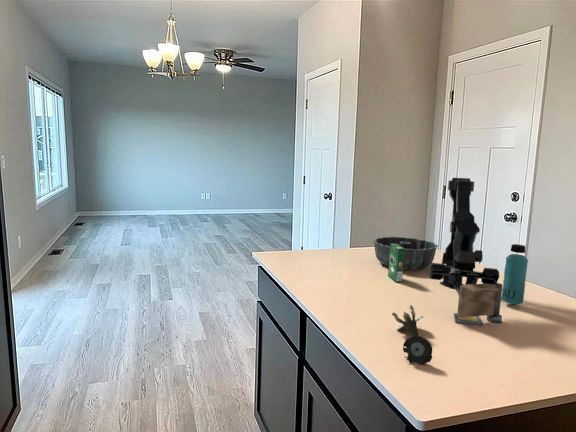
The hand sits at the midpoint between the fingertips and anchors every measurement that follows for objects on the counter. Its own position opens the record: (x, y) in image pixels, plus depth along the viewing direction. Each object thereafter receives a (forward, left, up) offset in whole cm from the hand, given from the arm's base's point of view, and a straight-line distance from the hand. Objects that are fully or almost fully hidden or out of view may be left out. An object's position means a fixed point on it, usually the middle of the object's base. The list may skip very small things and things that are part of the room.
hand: (463, 300), depth 124 cm
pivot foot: (-9, +3, -6) cm, 12 cm away
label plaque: (-2, 0, -6) cm, 7 cm away
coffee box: (-10, -40, -7) cm, 41 cm away
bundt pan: (-28, -55, -7) cm, 62 cm away
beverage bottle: (-26, -3, -7) cm, 27 cm away
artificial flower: (+24, +4, -7) cm, 25 cm away
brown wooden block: (-4, +4, -4) cm, 7 cm away
